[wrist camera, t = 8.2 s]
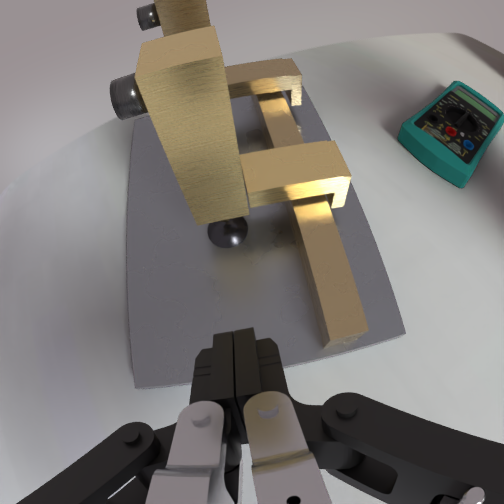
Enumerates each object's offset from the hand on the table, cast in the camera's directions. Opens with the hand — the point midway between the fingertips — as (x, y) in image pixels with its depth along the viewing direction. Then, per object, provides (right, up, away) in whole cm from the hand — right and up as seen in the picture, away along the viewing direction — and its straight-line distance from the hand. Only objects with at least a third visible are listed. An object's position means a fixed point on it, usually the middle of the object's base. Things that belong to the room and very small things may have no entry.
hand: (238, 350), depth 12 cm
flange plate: (0, +7, +11) cm, 13 cm away
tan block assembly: (+1, +8, +10) cm, 13 cm away
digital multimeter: (+21, +15, +14) cm, 29 cm away
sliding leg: (+1, +6, +9) cm, 11 cm away
